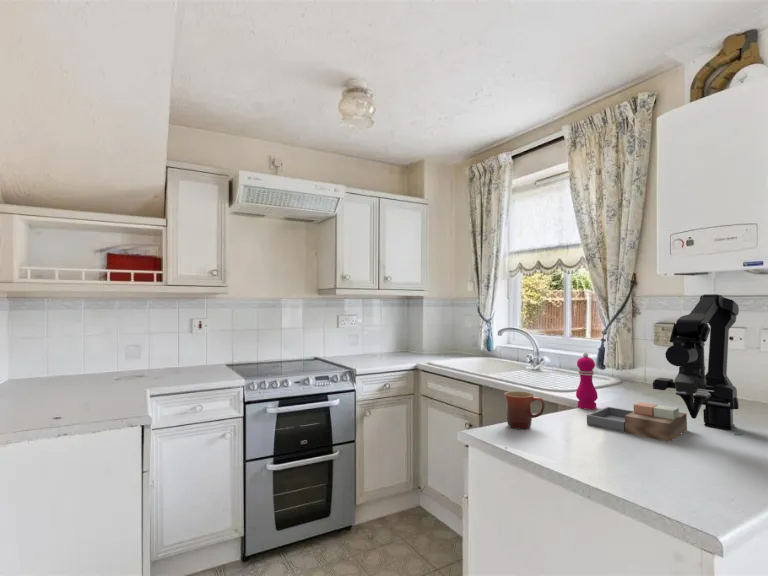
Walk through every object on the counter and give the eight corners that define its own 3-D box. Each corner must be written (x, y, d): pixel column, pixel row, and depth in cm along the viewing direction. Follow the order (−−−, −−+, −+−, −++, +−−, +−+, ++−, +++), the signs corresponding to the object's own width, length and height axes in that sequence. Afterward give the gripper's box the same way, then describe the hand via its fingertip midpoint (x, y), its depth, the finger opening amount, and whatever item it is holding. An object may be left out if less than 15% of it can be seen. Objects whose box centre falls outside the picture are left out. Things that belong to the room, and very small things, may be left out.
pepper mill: (600, 410, 153) (599, 354, 154) (578, 409, 155) (577, 354, 155) (594, 405, 160) (593, 351, 161) (574, 404, 162) (572, 351, 162)
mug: (503, 429, 131) (503, 396, 132) (505, 422, 140) (504, 390, 140) (545, 433, 127) (544, 398, 128) (544, 425, 136) (544, 392, 136)
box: (643, 422, 138) (643, 412, 138) (624, 432, 127) (623, 422, 127) (607, 415, 146) (607, 406, 146) (586, 424, 136) (586, 415, 136)
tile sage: (678, 416, 126) (678, 407, 126) (673, 419, 123) (673, 410, 123) (659, 413, 130) (659, 404, 130) (653, 416, 126) (653, 407, 126)
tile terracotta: (658, 413, 130) (657, 404, 130) (652, 416, 127) (652, 407, 127) (639, 409, 134) (639, 401, 134) (633, 412, 130) (633, 404, 130)
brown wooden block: (687, 430, 129) (686, 413, 129) (669, 442, 118) (669, 423, 119) (644, 422, 138) (644, 406, 138) (625, 432, 127) (624, 415, 127)
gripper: (645, 362, 123) (647, 417, 123) (726, 369, 109) (729, 431, 109) (658, 358, 130) (659, 410, 130) (736, 365, 116) (738, 423, 116)
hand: (693, 418), depth 121 cm, fingers closed
